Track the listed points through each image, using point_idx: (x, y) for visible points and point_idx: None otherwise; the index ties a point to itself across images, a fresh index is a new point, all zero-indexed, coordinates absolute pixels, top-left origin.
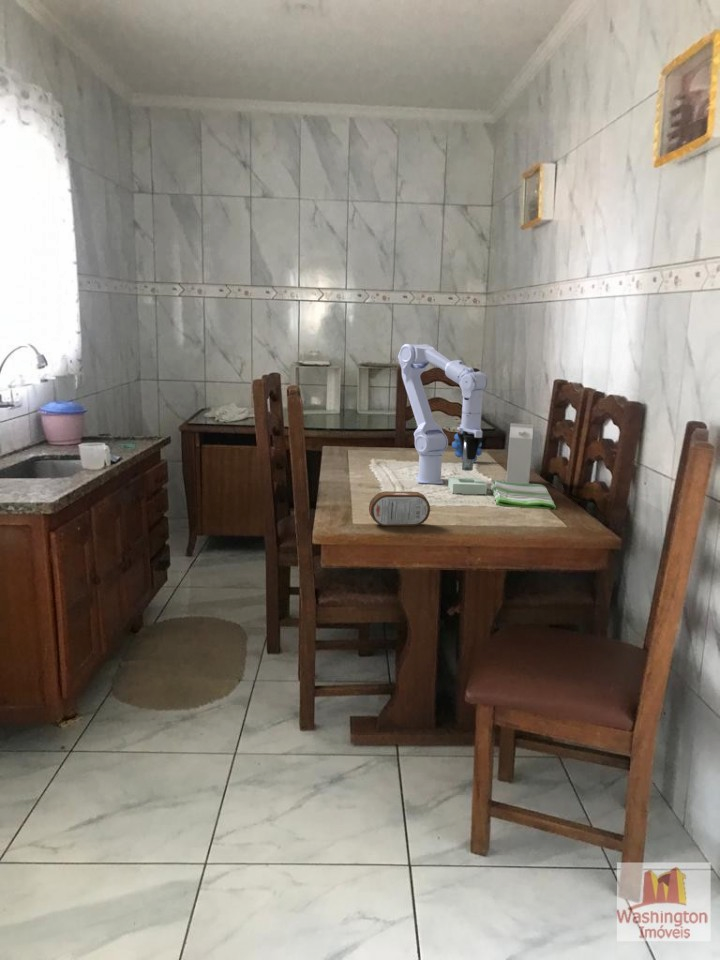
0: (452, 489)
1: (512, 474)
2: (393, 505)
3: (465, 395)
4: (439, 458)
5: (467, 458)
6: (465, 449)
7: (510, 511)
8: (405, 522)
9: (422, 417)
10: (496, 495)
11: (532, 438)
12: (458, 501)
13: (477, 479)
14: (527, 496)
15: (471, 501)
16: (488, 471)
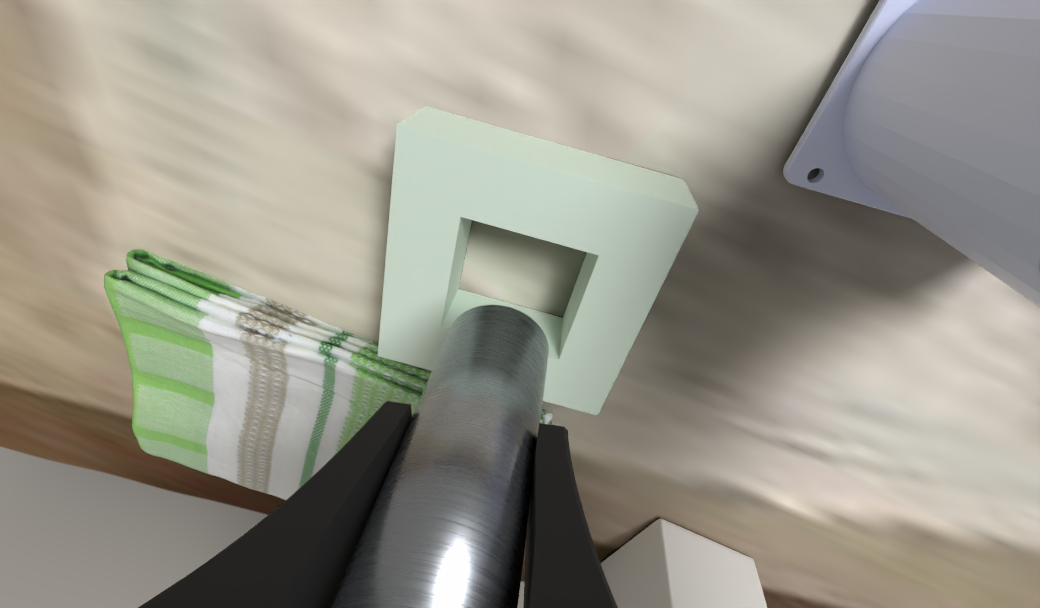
0: (436, 118)
1: (647, 577)
2: None
3: None
4: (1007, 249)
5: (399, 407)
6: (398, 496)
7: (26, 258)
8: None
9: None
10: (230, 316)
11: None
12: (174, 42)
13: (554, 379)
14: (266, 439)
15: (201, 146)
16: (986, 582)
